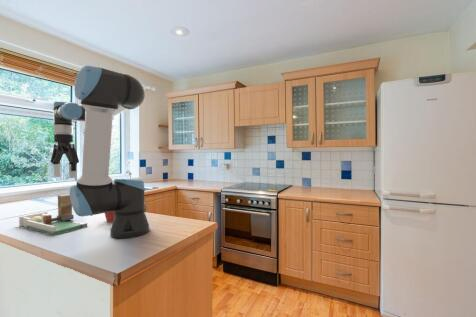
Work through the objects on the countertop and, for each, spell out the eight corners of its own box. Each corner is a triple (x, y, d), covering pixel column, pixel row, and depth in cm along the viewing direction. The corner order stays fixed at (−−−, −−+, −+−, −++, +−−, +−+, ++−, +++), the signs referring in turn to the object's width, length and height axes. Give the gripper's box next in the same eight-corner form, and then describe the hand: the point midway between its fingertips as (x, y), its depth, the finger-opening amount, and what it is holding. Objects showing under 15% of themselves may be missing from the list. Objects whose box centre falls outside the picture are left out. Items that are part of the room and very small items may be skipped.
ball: (39, 222, 117) (43, 224, 116) (29, 224, 114) (33, 226, 112) (39, 214, 117) (44, 216, 115) (29, 216, 114) (34, 218, 112)
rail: (87, 226, 111) (87, 223, 111) (81, 227, 109) (81, 224, 109) (59, 220, 122) (59, 217, 122) (53, 221, 119) (53, 218, 119)
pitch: (81, 228, 108) (81, 218, 108) (53, 235, 98) (53, 224, 98) (46, 220, 122) (46, 211, 122) (19, 226, 112) (18, 216, 112)
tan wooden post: (73, 218, 117) (73, 194, 117) (47, 224, 108) (47, 198, 108) (66, 217, 120) (66, 193, 120) (41, 223, 110) (40, 197, 110)
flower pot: (117, 223, 115) (116, 203, 115) (97, 222, 117) (97, 203, 117) (131, 217, 125) (131, 199, 125) (113, 216, 127) (112, 198, 127)
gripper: (86, 133, 114) (87, 177, 114) (58, 136, 125) (59, 176, 125) (69, 132, 107) (70, 179, 107) (41, 135, 118) (42, 177, 119)
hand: (64, 177), depth 116 cm, fingers open, 13 cm apart
